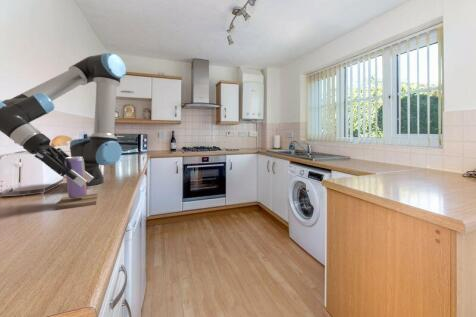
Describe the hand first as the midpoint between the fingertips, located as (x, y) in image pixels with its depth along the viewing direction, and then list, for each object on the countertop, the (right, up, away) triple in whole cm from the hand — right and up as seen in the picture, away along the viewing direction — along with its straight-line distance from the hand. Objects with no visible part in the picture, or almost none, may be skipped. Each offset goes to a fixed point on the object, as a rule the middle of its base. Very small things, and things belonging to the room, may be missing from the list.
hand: (87, 181), depth 88 cm
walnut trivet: (-3, -8, 0) cm, 9 cm away
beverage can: (-4, -6, 0) cm, 7 cm away
